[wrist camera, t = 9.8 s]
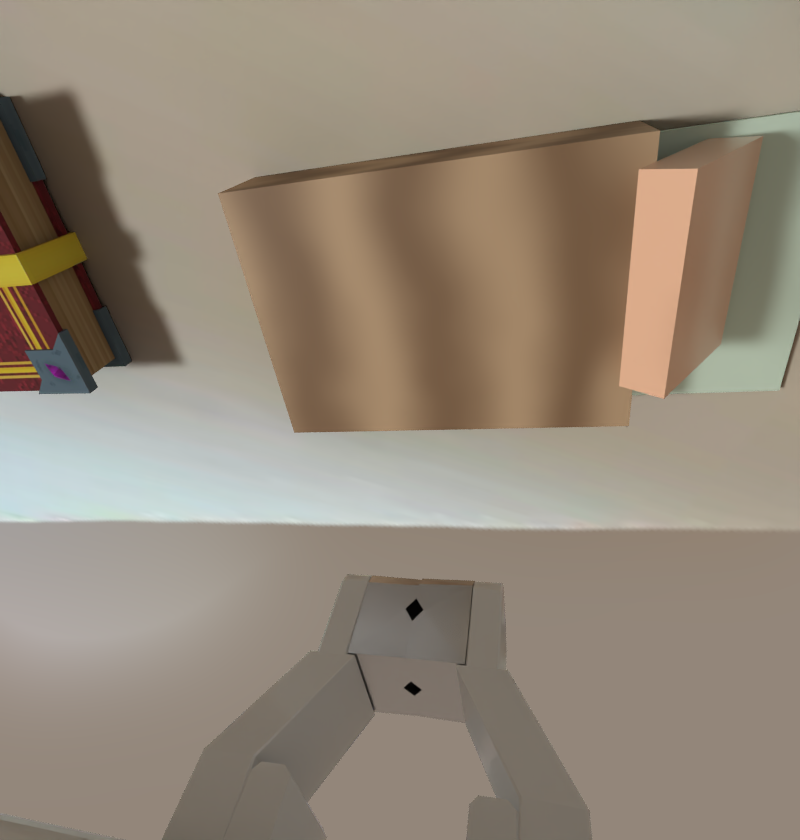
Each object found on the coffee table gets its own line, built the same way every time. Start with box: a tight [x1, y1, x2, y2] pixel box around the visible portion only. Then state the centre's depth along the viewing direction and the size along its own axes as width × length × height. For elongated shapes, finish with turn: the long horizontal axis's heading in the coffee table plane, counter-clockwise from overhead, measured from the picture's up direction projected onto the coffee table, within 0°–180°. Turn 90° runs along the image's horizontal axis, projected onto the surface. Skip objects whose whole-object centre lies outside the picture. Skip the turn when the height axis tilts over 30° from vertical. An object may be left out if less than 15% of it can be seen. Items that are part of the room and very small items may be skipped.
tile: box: [619, 136, 763, 399], centre depth 22 cm, size 6×9×2 cm
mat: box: [632, 111, 800, 395], centre depth 25 cm, size 8×13×1 cm, turn 9°
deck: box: [218, 121, 660, 433], centre depth 26 cm, size 18×13×4 cm
